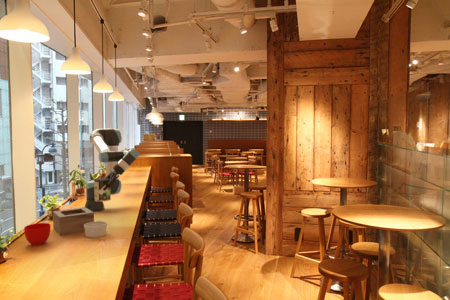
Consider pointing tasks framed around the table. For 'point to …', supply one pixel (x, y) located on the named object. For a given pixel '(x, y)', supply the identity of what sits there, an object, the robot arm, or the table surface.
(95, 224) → the ramekin
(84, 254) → the table surface
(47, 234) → the ceramic cup
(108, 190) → the coffee can
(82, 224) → the brown square bin
